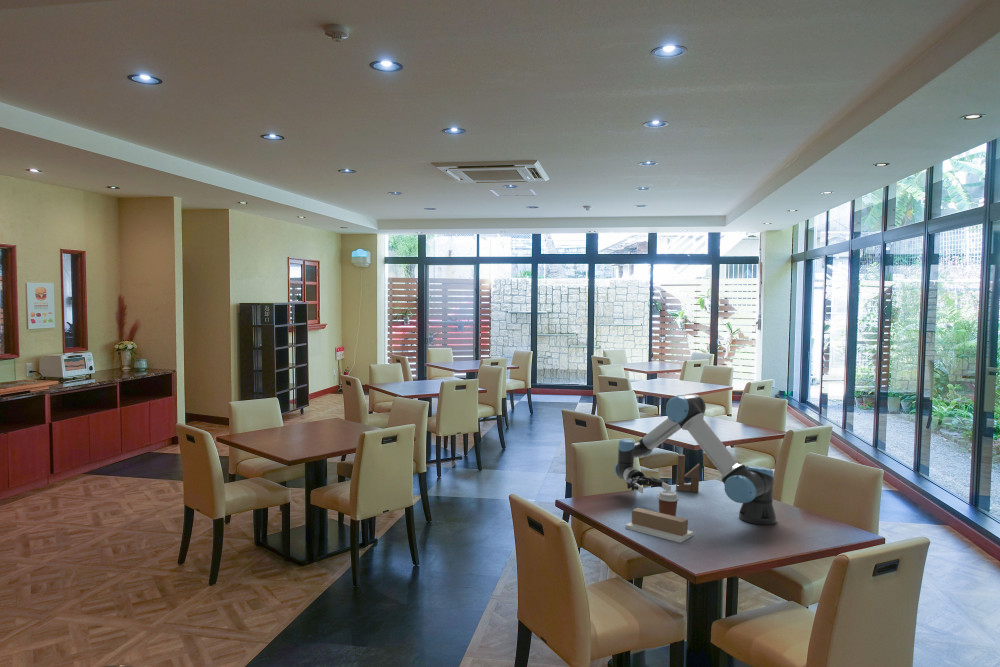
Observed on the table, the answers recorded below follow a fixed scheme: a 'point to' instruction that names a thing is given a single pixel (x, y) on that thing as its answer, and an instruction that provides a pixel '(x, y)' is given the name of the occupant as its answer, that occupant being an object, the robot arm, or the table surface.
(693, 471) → the brown wooden angular stand
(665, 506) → the coffee cup
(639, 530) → the stand
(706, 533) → the table surface
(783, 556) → the table surface
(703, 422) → the robot arm
